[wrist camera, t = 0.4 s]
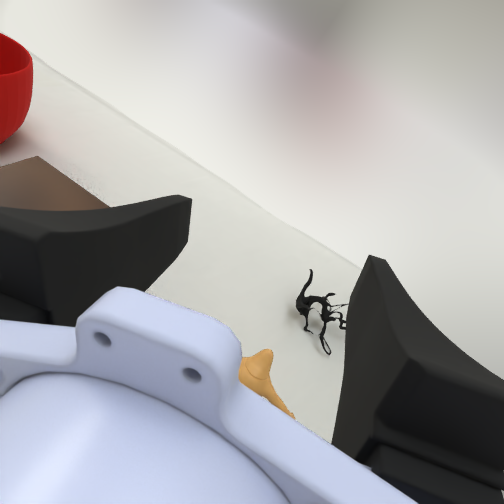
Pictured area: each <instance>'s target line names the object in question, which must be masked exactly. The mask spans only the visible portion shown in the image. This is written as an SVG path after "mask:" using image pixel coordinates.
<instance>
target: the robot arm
mask: <svg viewBox="0 0 504 504" xmlns="http://www.w3.org/2000/svg"><path fill="white" fill-rule="evenodd" d="M191 206H192V199H191V198H187V197H184V196H181V195H171V196H166V197H161V198H157V199H152V200H148V201H143V202H139V203H134V204H128V205H123V206H117V207H111V208H103V209H93V210H72V211H49V210H30V209H19V208H11V207H2V206H0V504H504V499H503V495H502V492H501V490H503V491H504V380H503V379H501V378H500V377H498V376H497V375H495V374H493V373H492V372H490V371H489V370H487V369H486V368H485V367H483V366H482V365H480V364H479V363H478V362H476V361H475V360H474V359H472V358H471V357H470V356H468V355H467V354H466V353H465V352H463V351H462V350H461V349H460V348H459V347H457V346H456V345H455V344H454V343H453V342H452V341H450V340H449V339H448V338H447V337H446V336H445V335H444V334H443V333H442V332H441V331H439V329H438V328H437V327H436V326H434V324H433V323H432V322H431V321H430V320H429V319H428V318H427V317H426V316H425V315H424V314H423V313H422V311H421V310H420V309H419V308H418V306H417V305H416V304H415V302H414V301H413V300H412V299H411V297H410V296H409V295H408V294H407V292H406V290H405V289H404V288H403V286H402V284H401V283H400V281H399V280H398V278H397V277H396V275H395V274H394V272H393V271H392V269H391V267H390V266H389V264H388V263H387V261H386V260H384V259H381V258H378V257H375V256H372V255H369V256H368V258H367V260H366V263H365V265H364V267H363V269H362V271H361V274H360V276H359V278H358V280H357V283H356V285H355V287H354V289H353V292H352V294H351V296H350V301H349V306H348V311H347V317H346V335H345V360H344V374H343V381H342V387H341V394H340V400H339V405H338V411H337V417H336V422H335V427H334V433H333V438H332V443H331V444H330V443H329V442H327V441H326V440H324V439H323V438H321V437H320V436H318V435H317V434H315V433H314V432H312V431H311V430H309V429H308V428H307V427H305V426H304V425H302V424H301V423H299V422H298V421H296V420H295V419H293V418H292V417H290V416H289V415H287V414H286V413H285V412H283V411H282V410H280V409H279V408H277V407H276V406H274V405H273V404H271V403H270V402H268V401H267V400H265V399H264V398H262V397H261V396H260V395H258V394H257V393H255V392H254V391H252V390H251V389H249V388H248V387H246V386H245V385H243V384H242V383H241V382H240V381H239V378H238V375H239V368H240V364H241V360H242V351H241V342H240V341H239V340H238V338H237V337H236V336H235V334H234V333H233V332H232V330H231V329H230V328H229V327H228V326H226V325H225V324H223V323H221V322H220V321H218V320H216V319H215V318H213V317H210V316H208V315H205V314H202V313H200V312H197V311H194V310H191V309H189V308H186V307H183V306H181V305H178V304H175V303H172V302H170V301H167V300H164V299H161V298H159V297H156V296H153V295H151V294H148V293H145V291H146V290H147V289H148V288H149V287H150V286H151V285H152V284H153V283H154V282H155V281H156V280H157V278H158V277H159V276H160V275H161V274H162V273H163V272H164V271H165V270H166V269H167V268H168V267H169V266H170V265H171V264H172V263H173V262H174V261H175V259H176V258H177V257H178V255H179V254H180V253H181V251H182V250H183V248H184V247H185V245H186V244H187V242H188V235H189V225H190V215H191Z"/></svg>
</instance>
